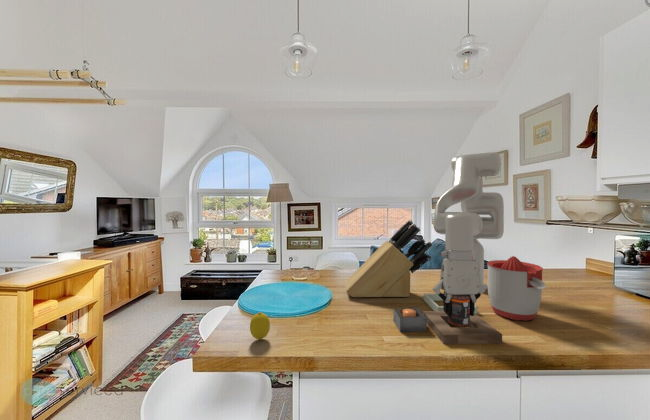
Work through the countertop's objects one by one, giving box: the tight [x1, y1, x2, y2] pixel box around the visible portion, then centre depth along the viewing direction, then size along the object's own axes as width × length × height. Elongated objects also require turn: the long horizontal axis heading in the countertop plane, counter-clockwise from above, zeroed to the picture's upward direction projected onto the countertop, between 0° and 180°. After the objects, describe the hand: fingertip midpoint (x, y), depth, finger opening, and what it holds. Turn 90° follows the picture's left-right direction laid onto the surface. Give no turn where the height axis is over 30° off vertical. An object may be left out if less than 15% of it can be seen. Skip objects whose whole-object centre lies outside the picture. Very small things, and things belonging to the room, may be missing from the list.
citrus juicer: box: [486, 255, 547, 321], centre depth 92 cm, size 16×17×20 cm
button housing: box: [392, 307, 428, 333], centre depth 85 cm, size 8×8×4 cm
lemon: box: [249, 311, 271, 341], centre depth 78 cm, size 6×6×8 cm
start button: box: [403, 309, 416, 317], centre depth 85 cm, size 4×4×4 cm
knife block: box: [344, 219, 433, 298], centre depth 115 cm, size 11×35×31 cm, turn 90°
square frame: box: [422, 310, 503, 345], centre depth 82 cm, size 16×16×2 cm
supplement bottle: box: [448, 295, 470, 328], centre depth 82 cm, size 6×6×11 cm
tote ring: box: [423, 293, 478, 315], centre depth 100 cm, size 14×14×2 cm
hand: (458, 313), depth 82 cm, fingers closed on supplement bottle, 5 cm apart
